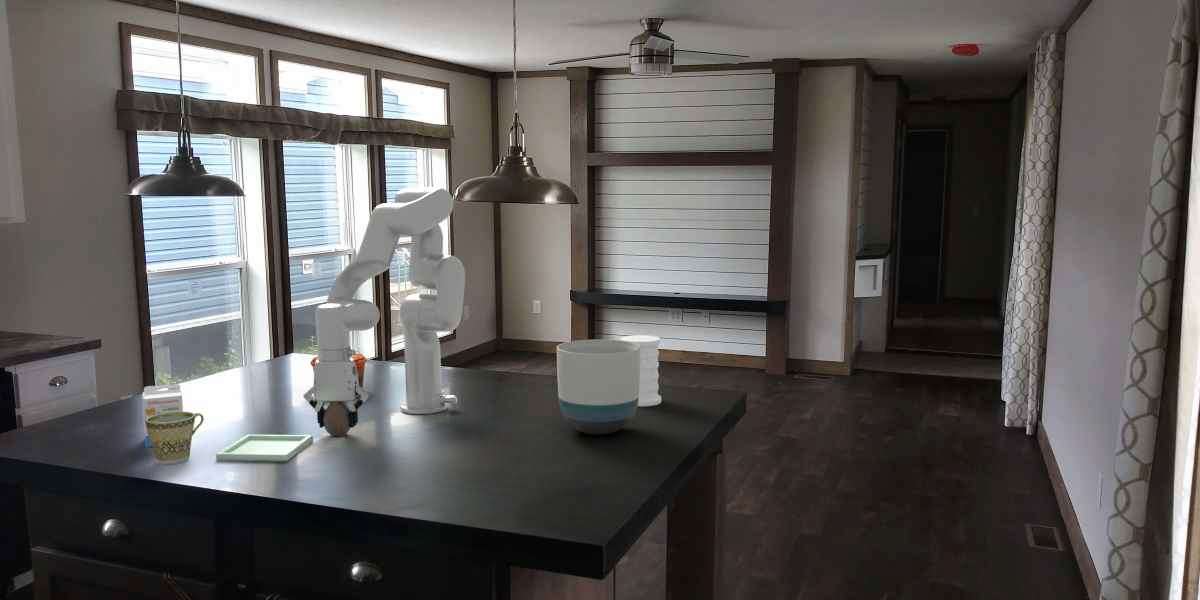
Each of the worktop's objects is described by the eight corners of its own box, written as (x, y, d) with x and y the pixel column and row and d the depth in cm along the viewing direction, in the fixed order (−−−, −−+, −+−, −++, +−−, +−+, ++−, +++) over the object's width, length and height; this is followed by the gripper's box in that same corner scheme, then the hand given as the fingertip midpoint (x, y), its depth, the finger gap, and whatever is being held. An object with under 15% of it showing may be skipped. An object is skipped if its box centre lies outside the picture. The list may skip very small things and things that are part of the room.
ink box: (145, 447, 213) (141, 392, 211) (144, 439, 220) (140, 385, 219) (185, 442, 217) (182, 388, 215) (183, 434, 224) (180, 381, 223)
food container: (379, 390, 271) (378, 355, 270) (337, 401, 258) (336, 364, 256) (342, 384, 280) (340, 350, 278) (300, 394, 266) (298, 358, 265)
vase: (335, 439, 218) (333, 403, 217) (318, 434, 222) (316, 399, 221) (359, 432, 224) (357, 397, 222) (341, 428, 228) (339, 394, 226)
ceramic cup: (165, 470, 196) (162, 425, 195) (138, 462, 201) (135, 418, 200) (218, 454, 207) (216, 412, 206) (192, 448, 212) (189, 406, 211)
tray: (313, 441, 218) (312, 435, 217) (286, 461, 202) (286, 454, 202) (247, 440, 219) (247, 434, 218) (216, 460, 203) (215, 454, 202)
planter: (599, 416, 239) (599, 336, 236) (657, 431, 225) (657, 346, 222) (540, 431, 225) (539, 346, 222) (598, 448, 210) (597, 357, 208)
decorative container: (655, 407, 249) (655, 342, 246) (614, 404, 252) (614, 340, 250) (665, 398, 259) (666, 336, 257) (627, 395, 263) (627, 334, 261)
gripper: (373, 351, 223) (377, 421, 226) (304, 351, 224) (309, 422, 227) (364, 357, 216) (368, 430, 218) (292, 358, 217) (297, 430, 219)
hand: (338, 425), depth 223 cm, fingers closed on vase, 6 cm apart
